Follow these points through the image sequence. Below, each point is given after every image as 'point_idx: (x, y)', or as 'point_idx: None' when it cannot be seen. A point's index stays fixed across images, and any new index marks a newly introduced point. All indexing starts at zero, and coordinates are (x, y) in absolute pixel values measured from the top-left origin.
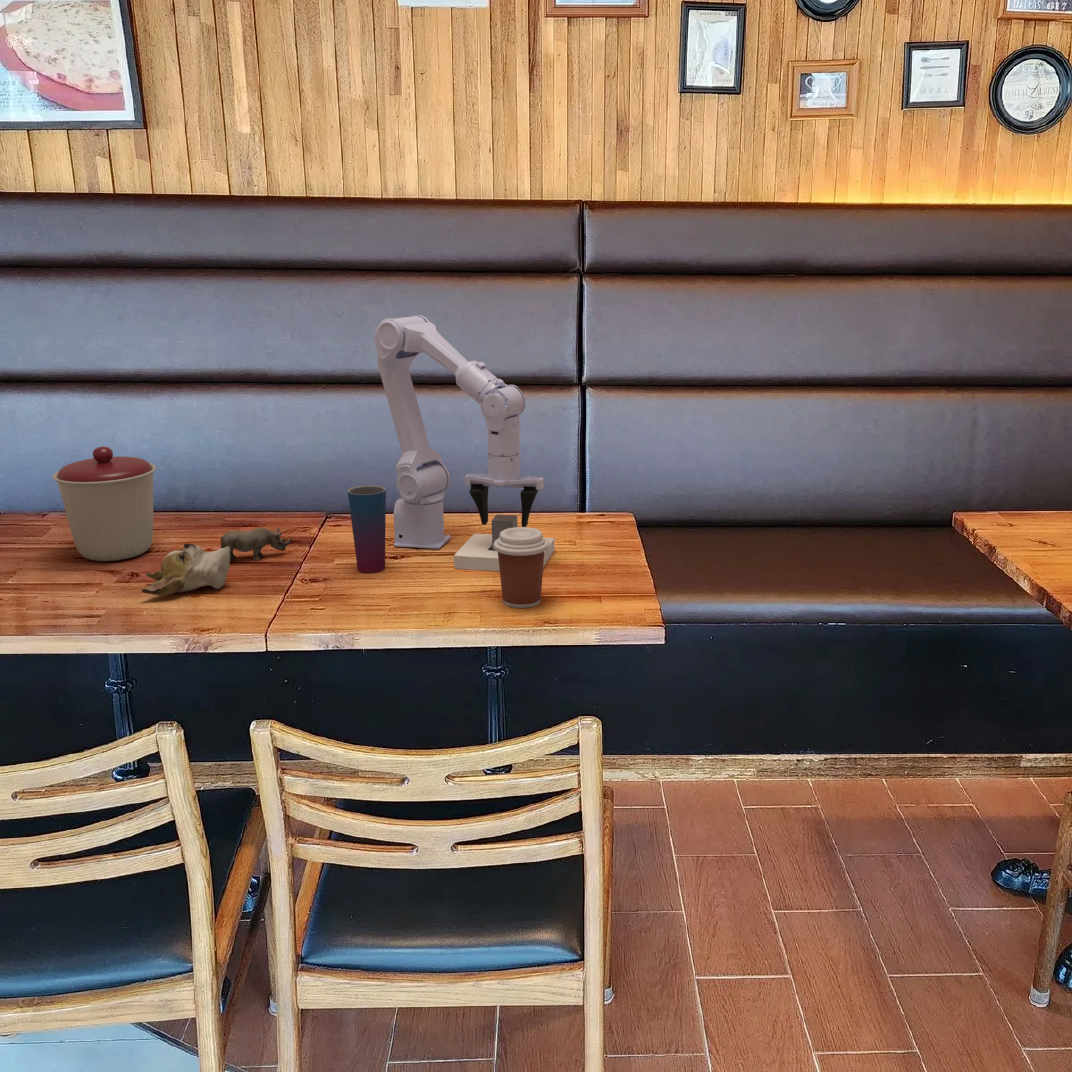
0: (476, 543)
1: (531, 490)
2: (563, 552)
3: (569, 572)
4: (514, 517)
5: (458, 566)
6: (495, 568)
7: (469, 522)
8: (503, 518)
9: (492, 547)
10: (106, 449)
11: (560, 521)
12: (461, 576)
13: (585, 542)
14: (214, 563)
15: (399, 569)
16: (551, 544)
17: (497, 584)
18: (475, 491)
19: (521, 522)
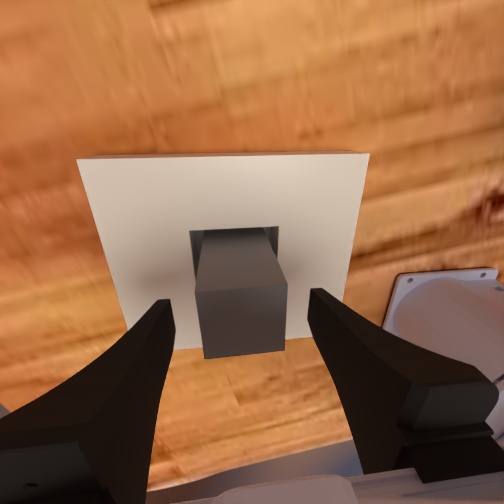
0: (319, 272)
1: (22, 499)
2: (118, 325)
3: (19, 191)
4: (206, 337)
5: (340, 151)
6: (233, 153)
7: None
8: (245, 316)
9: (266, 237)
10: None
11: (199, 451)
12: (319, 81)
13: None
14: None
15: (494, 110)
16: (128, 321)
17: (186, 12)
18: (460, 385)
19: (165, 307)
